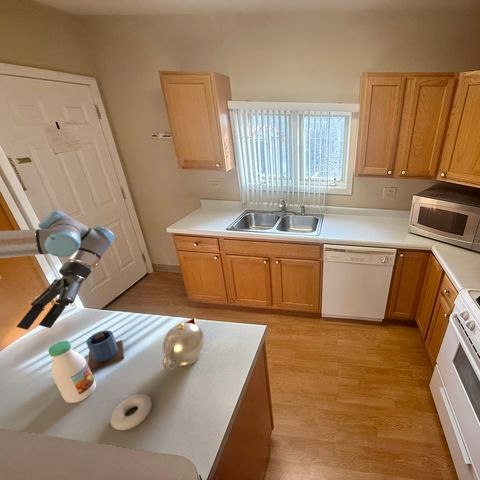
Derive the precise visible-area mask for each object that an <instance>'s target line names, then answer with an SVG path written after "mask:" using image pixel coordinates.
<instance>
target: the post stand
mask: <svg viewBox="0 0 480 480" xmlns="http://www.w3.org/2000/svg"><path fill="white" fill-rule="evenodd" d="M94 338H95V341H96V343H100V342H103V341H105V340H106V339H105V336H104V334H103V333H99V334H97V335H95V336H94ZM123 342H124V341H123V339H120V340H118V341H117V340H116V344H117V347H118V352H117V354H116V355H115V356H113V357H112V358H110V359H109V360H107V361H103V362H95V361H94V360H93V357H92V355H91V353H90V350H88V359H87V361H88V362H87V364H88V366H89V368H90V370H91V372H94V371H96V370H99V369H101V368H103V367H105V366H109V365H111V364H114V363H117V362H119V361H122V360H123V359H125V353H124V343H123Z"/></svg>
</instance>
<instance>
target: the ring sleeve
mask: <svg viewBox="0 0 480 480" xmlns="http://www.w3.org/2000/svg"><path fill="white" fill-rule="evenodd" d="M99 333H103V334H104V336H105V339H106V340H105V341H103V342H100V343H96V341H95V338H94V336H95V335H97V334H99ZM116 342H117V340H116V338H115V335H114V333H113V332H112V331H111V330H101V331H98V332H96V333H94V334H92V335H91V336H90V337H88V338H87V339H86V346H87V348H88V351H90V353H91V355H92V357H93V360H94V361H95V362H103V361H107V360H109V359H110V358H112V357H113V356H115V355H116V354H117V352H118V347H117V344H116Z"/></svg>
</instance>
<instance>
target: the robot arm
mask: <svg viewBox="0 0 480 480" xmlns="http://www.w3.org/2000/svg"><path fill="white" fill-rule="evenodd" d="M115 238H116V237H115V234H114V232H113V231H111V230H110V229H108V228H105V227H103V226H94V227H89V226H87V225H85V224H84V223H82V222H80V221H79V220H76V219H74V218H73V217H71V216H70V215H69V214H66V213H64V212H62V211H60V210H53V211H51V212H50V213H48V214H47V215H45V217H44V218H42V220H41V221H39V223H38V229H37V228H35V229H16V230H0V259H7V258H17V257H18V258H19V257H29V256H38V255H40V256H41V255H51V256H53V257H57V258H67V257H68V258H67V259H66V262H64V263H63V265H62V266H61V267H60V268H59V270H58V272H59V274H60V275H61V276H62V277H60V278H55V279H54V280H53V281H52V282H51V284H50V285H48V286H47V288H45V290H43V291H42V292H41V293H40V294H39V295H38V296H37V297H36V298H35V299H34V300H33V301H32V302H31V303H30V306H31V307H30V309H29V310H28V311H27V312H26V314H25V315H24V316H23V317H22V319H21V320H20V321H19V322H18V323H17V325H15V327H16V328H18V329H22V330H26V331H29V329H30V328H31V327H32V325H33V324H34V322H36V320H37V319H38V318H39V316H40V315H41V313H43V311H45V310H46V306H47V305H48V304H49V303H50V302H52V301H53V300H54V299H55V298H56V297H58V298H57V299H56V300H55V302H54V303H53V305H52V306H51V307H50V309H49V310H48V311H47V313H46V314H45V315H44V317H43V318H42V319H41V321H40V322H39V323H38V326H41V327H45V328H47V329H51V328H52V327H53V326H54V324H55V323H56V321H57V320H58V319H59V317H60V316H61V314H62V313H63V312H64V310H65V309H66V307H68V306H69V305H70V304H71V305H72V304H73V303H74V302H75V300H76V297H77V295H78V293H79V291H80V289H81V286H82V284H83V283H84V281H86V280H87V279H88V277H89V276H90V275H91V273H92V271H93V270H94V268H95V267H98V265H99V264H98V263H99V262H100V260H101V259H102V257H103V256H104V255H105V253H106V252H107V251H108V249H109V248H110V247H111V246H112V244H113V242H114V241H115Z"/></svg>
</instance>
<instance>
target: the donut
mask: <svg viewBox="0 0 480 480" xmlns="http://www.w3.org/2000/svg"><path fill="white" fill-rule="evenodd" d="M134 408H137V410H136V411H135V412H134V413H132V414H129V415H126V414H127V413H128V412H129V411H130V410H131V409H134ZM151 410H152V400H151V398H150V396H148V395H146V394H141V393H139V394H134V395H132V396H129V397H127V398H126V399H124V400H122V401H121V402H120V403H119V404H117V406H116V407H115V408H114V410H113V411H112V414H111V415H110V425H111V427H112V428H113V429H114V430H115V431H122V432H123V431H128V430H130V429H133V428H135V427H136V426H138V425H139V424H141V423H142V422H143V421H144V420H146V418H147V417H148V415H149V414H150V411H151Z"/></svg>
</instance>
